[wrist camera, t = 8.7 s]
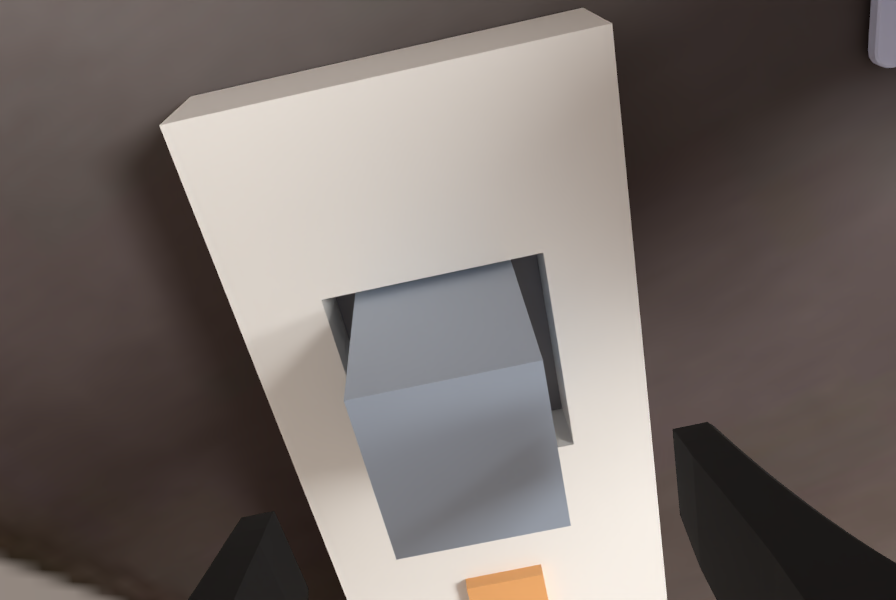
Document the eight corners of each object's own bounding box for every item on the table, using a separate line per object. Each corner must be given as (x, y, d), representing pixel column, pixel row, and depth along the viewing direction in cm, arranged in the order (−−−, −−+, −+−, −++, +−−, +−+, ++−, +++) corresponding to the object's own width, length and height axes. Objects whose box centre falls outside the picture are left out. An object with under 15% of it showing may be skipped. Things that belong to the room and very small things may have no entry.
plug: (504, 239, 20) (542, 360, 15) (529, 376, 22) (571, 525, 17) (357, 269, 20) (344, 400, 15) (396, 403, 22) (396, 560, 17)
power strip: (583, 7, 18) (616, 26, 15) (645, 569, 28) (674, 645, 25) (190, 96, 19) (153, 130, 16) (383, 620, 28) (382, 700, 25)
